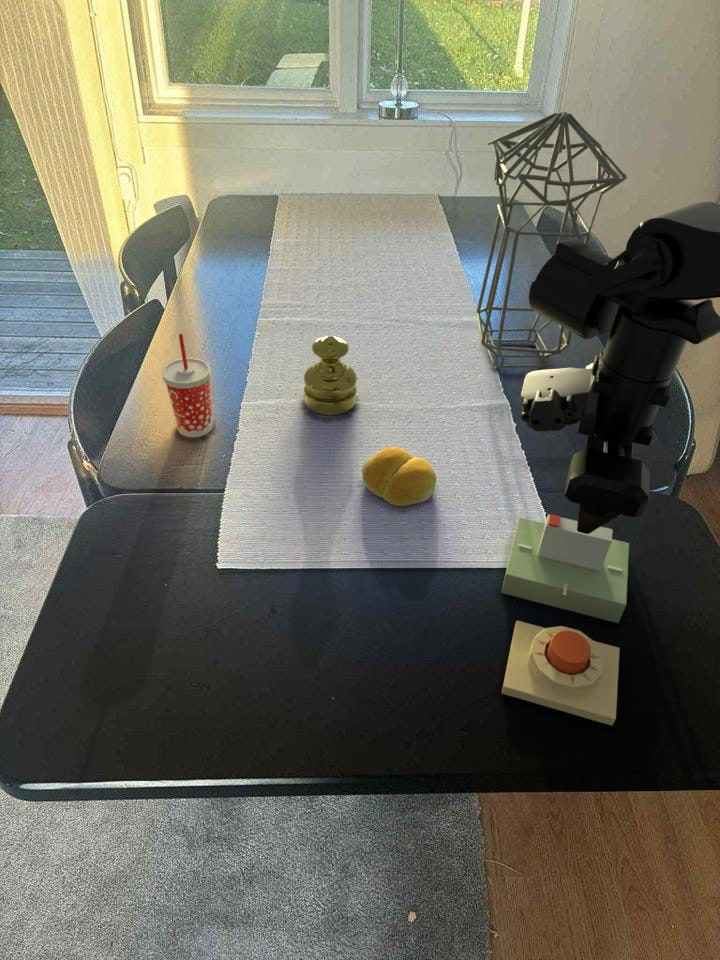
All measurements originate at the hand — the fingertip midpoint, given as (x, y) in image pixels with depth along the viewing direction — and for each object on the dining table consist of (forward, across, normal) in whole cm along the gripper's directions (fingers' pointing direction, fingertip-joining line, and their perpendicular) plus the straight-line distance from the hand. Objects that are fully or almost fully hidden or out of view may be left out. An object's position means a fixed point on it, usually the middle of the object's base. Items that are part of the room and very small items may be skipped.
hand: (586, 499), depth 68 cm
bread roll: (+13, -9, -20) cm, 25 cm away
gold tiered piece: (+13, -23, -34) cm, 43 cm away
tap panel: (+12, 0, +1) cm, 12 cm away
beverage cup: (+14, -11, -49) cm, 52 cm away
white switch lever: (+9, 0, +1) cm, 9 cm away
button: (+9, +12, +1) cm, 15 cm away
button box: (+11, +12, +2) cm, 17 cm away
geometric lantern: (+13, -45, -11) cm, 48 cm away
